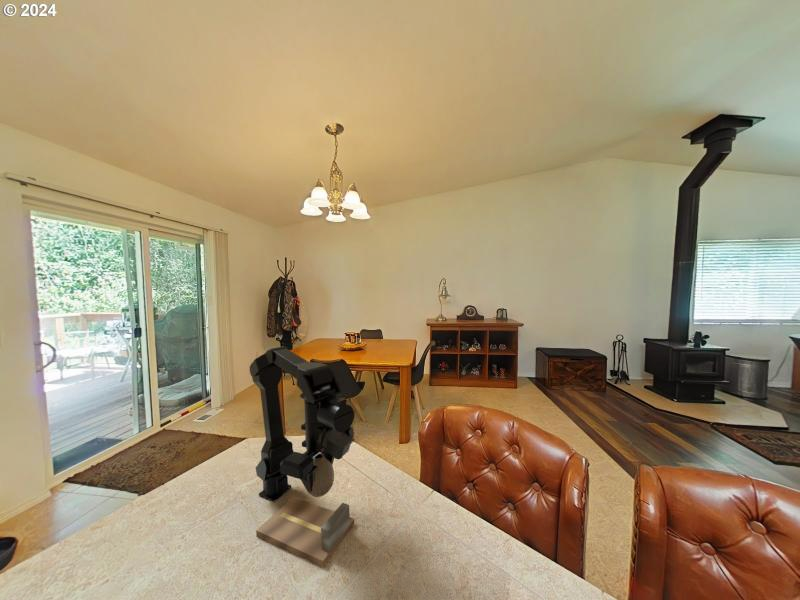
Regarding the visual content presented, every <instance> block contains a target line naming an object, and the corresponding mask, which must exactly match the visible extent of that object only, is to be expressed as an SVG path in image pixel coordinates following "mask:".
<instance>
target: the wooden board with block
mask: <svg viewBox="0 0 800 600" xmlns="http://www.w3.org/2000/svg"><path fill="white" fill-rule="evenodd" d="M354 526H355V518H354V517H351V515H350V504H348V503H344V502H342V503H340V505H339V506H337V509H336V510H335V511H334V510H331V509H328V508H325V507H323V506H320V505H317V504H315V503H312V502H309V501H306V500H304V499H301V498H299V497H296V496H292V497H291V498H290V499H289V500H288V501H287V502H286V503H284V504H283V505H282V506H281V507H280V508H279V509H278V510H277V511H276V512H275V513H274V514H273V515H272V516H270V517H269V518H268V519H267V520H266V521H265V522H263V524H261V525H260V526H259V527H258V528H257V529H256V530H255V536H256V537H257V538H259V539H261V540H263V541H266V542H267V543H268V544H269V543H270V544H272V545H274V546H277V547H279V548H280V549H283V550H284V551H287V552H289V553H291V554H293V555H296V556H297V557H300V558H301V559H303V560H306V561H308V562H310V563H312V564H315V565H316V566H319V567H321V568H323V569H324V567H325V566H326V565H327V563H328V562H329V560H330V559H331V558H332V557H333V556H334V554H335V552H336V551H337V550H338V548H339V547H340V545H341V544H342V543H343V541H344V540H345V538H346V537H347V536H348V535H349V533H350V532H351V531H352V529H353V527H354Z"/></svg>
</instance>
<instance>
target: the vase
mask: <svg viewBox="0 0 800 600" xmlns="http://www.w3.org/2000/svg"><path fill="white" fill-rule="evenodd" d="M313 459H314V460H313V461H314V465H315V466H318V467H317V468H316V469H315V470H314V471H313V486H312V492H308V491H307V493H308V494H309V495H311V496H312V497H316V498H320V497H323V496H325V495H326V494H328V493H329V492H330V490H331V489H332V486H333V484H334V479H335V471H334V467H333V465H332V464H331V463H330V461H329V460H327V459H326V458H325V456H324V455H323V454H322V453H319V454H318V455H317V456H315V457H314V458H313Z"/></svg>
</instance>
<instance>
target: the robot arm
mask: <svg viewBox="0 0 800 600" xmlns="http://www.w3.org/2000/svg"><path fill="white" fill-rule="evenodd" d="M283 371H284V372H286V373H288V374H289V375H290V376H292V377H294V379H295V380H296V386H297V388H298V389H299V390H300V392H302V393H301V394H299V397H300V399H302V400H303V402H304V423H303V424H301V425H300V428H301V430H302V431H304V432H305V433H304V434H305V438H304V440H303V441H302V442H301V447H303V448H306V450H305V452H303V453H302V452H298V451H294V448H293V447H294V446H293V442H292V441H290V440H289V439H288V438H286V436H285V433H284V424H283V416H282V409H281V400H280V390H279V385H280V383H281V380H282V378H283V376H284V374H283ZM249 374H250V376H251V378H252V382H253V383H254V385H255V386H256V387H257V388H258V389H259V391H260V393H259V394H260V400H261V408H262V415H263V416H262V418H263V425H264V435H265V440H264V443H263V446H262V448H261V451H260V456H261V457H260V458H261V459H260V461H259V463H258V464H257V465H256V466H255V473H256V476H257V477H258V478H260V480H262V488H263V489H262V491H260V492H258V496H259V497H261V498H264V499H266V500H268V501H272V502H277V500H279V499H280V498H281V497H282V496H283V495H284V494H286V493H287V492H288V491H290V489H291V488H292V484H289V478H288V477H291V478H295V479H298V480H300V481H301V483H302V485H303V486H304V488H305V490H306V492H307V493H308V492H312V486H313V471H314V470H315V469H316V468H317V467H318V466H315V465H314V461H313V460H314V459H313V458H314V457H315V456H317V455H318V454H319V453H322V454H323V455H324V456H325V458H326V459H327V460H329V461H330V463H331V464H332V466H333V465H334V461H335V460H341V459H342V458H343V456H344V455H346V454H347V453H349V450H350V447H351V445H352V443H354V442H355V437H354V435H355V432H354V427H352V424H353V422H354V419H355V411H354V408H353V406H351V405H350V404H348V403H347V402H348V401H347V400H348V399H347V398H344V397H339V395H341V394H342V390H341V388H340V387H341V385H340V384H339V382H338V379H336V376H335V374H334V372H333V370H332V368H331V367H330V366H329V365H328V364H324V363H322V362H314V361H308V360H306V359H304V358H302V357H301V356H300V355H298V354H296V353H295V352H292V351H291V350H290V349H289V348H288V347H287V346H283V345H282V346H277V347H271V348H269V349H267V350H266V351H265V353H263V354H261V355H260V356H258V357H256V358H255V359H253V361H252V362H251V363H250V365H249ZM329 388H330V389H329ZM325 389H326V390H325ZM322 390H323V391H322Z"/></svg>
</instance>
